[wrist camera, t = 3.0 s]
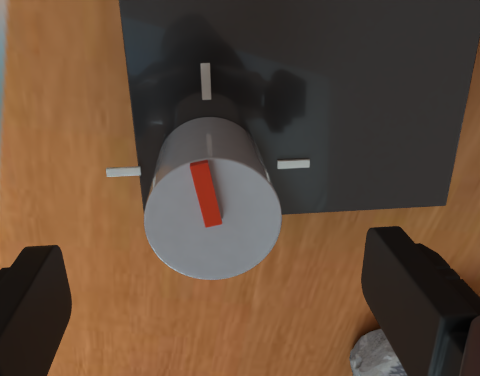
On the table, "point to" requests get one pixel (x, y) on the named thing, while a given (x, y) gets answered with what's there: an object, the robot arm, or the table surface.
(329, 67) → the knob base
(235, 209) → the hob knob
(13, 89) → the table surface
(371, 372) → the fossil
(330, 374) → the table surface
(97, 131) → the table surface
